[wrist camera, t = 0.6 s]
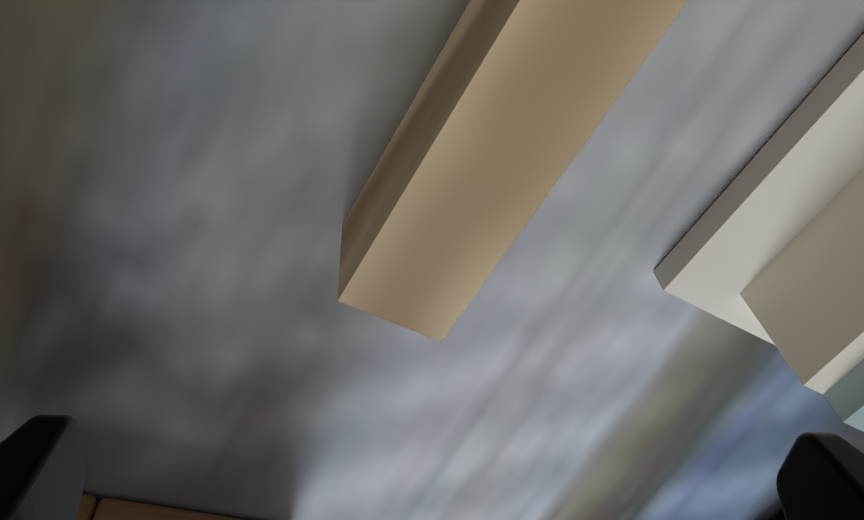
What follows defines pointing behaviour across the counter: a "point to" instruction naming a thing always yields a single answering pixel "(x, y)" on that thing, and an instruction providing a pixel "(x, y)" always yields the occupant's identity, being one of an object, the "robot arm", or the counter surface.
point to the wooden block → (136, 511)
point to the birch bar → (486, 149)
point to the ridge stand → (793, 243)
